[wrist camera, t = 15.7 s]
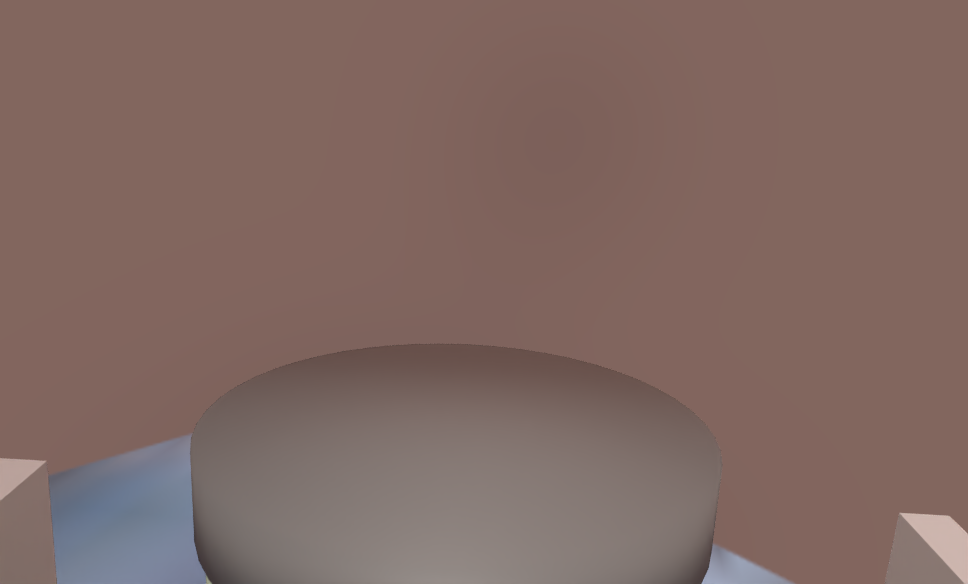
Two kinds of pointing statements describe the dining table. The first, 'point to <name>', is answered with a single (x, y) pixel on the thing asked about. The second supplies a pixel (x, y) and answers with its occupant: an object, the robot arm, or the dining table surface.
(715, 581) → the dining table surface
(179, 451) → the dining table surface
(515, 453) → the sage canister
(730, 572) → the dining table surface
